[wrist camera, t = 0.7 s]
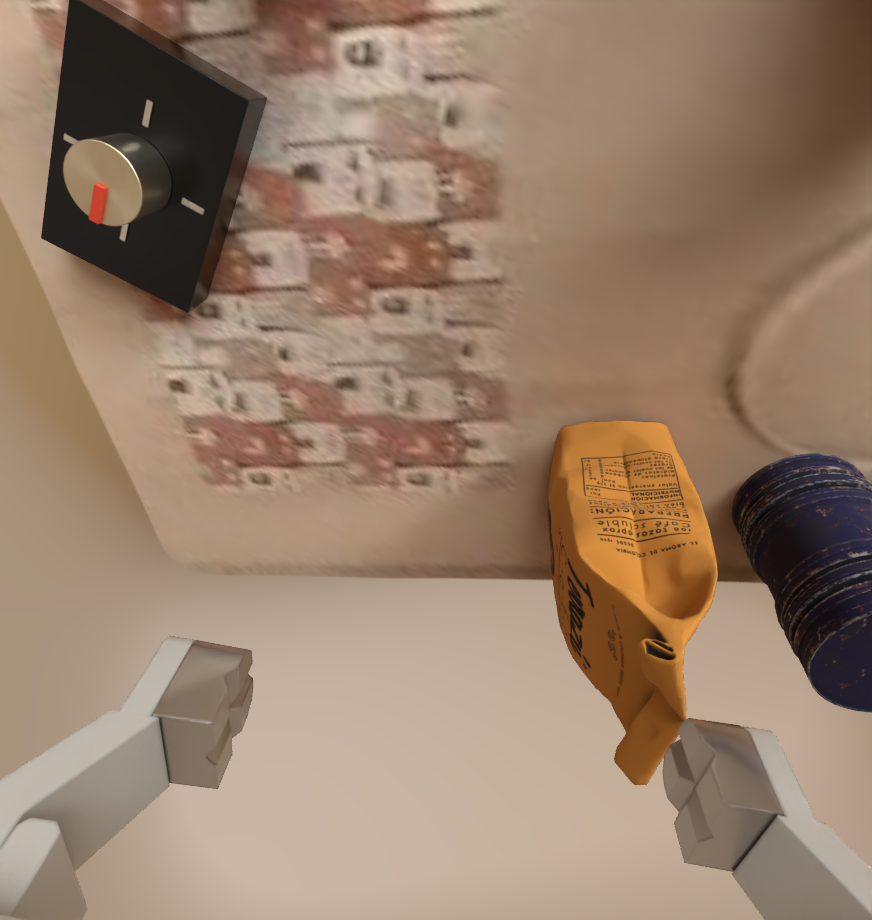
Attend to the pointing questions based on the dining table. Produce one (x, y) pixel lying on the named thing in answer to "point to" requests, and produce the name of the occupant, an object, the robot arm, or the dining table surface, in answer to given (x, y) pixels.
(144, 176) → the dial
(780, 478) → the storage jar
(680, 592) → the coffee package
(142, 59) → the timer panel
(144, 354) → the dining table surface
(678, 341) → the dining table surface
